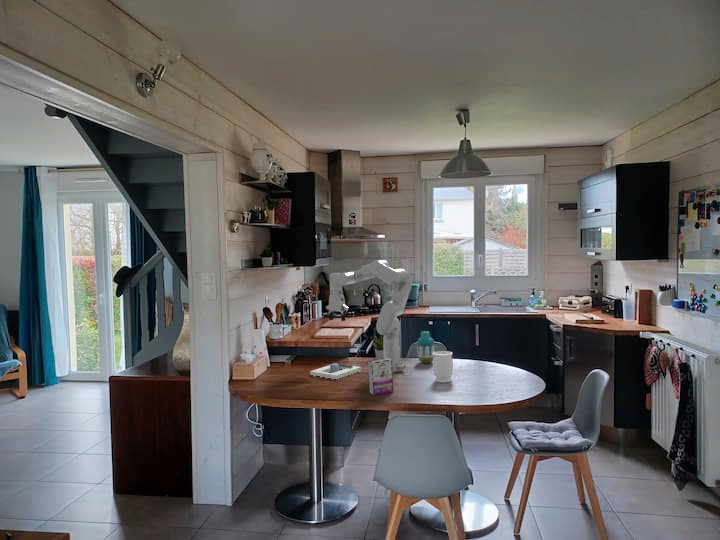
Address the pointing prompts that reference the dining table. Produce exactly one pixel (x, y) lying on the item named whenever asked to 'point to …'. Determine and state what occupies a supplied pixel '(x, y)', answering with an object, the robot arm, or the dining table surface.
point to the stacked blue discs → (334, 368)
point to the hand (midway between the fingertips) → (337, 320)
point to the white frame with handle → (336, 375)
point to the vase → (425, 347)
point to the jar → (443, 366)
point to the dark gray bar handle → (344, 365)
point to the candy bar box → (380, 376)
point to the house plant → (379, 348)
